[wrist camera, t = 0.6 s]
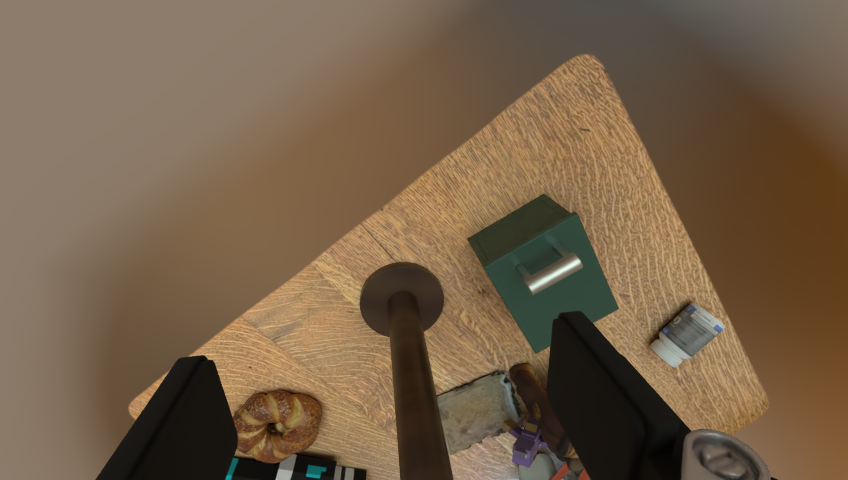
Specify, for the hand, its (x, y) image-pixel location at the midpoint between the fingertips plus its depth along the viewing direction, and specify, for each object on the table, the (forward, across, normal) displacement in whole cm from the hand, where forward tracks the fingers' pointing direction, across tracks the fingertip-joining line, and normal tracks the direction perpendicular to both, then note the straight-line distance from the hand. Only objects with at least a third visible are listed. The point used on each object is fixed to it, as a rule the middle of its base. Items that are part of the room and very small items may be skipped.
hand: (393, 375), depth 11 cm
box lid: (+25, -17, +13) cm, 33 cm away
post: (+33, -1, +18) cm, 38 cm away
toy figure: (+30, -18, +37) cm, 51 cm away
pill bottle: (+31, -42, +24) cm, 57 cm away
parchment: (+32, -10, +38) cm, 51 cm away
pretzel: (+34, +16, +34) cm, 51 cm away
